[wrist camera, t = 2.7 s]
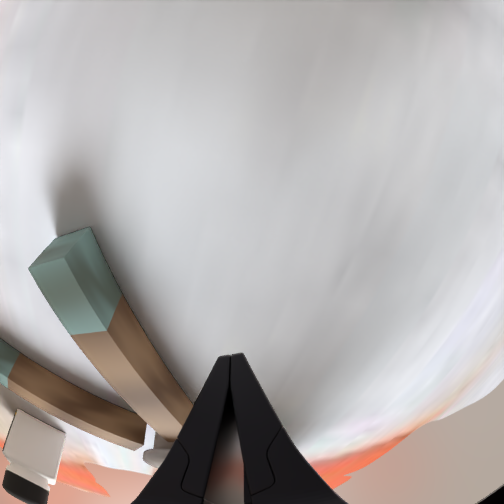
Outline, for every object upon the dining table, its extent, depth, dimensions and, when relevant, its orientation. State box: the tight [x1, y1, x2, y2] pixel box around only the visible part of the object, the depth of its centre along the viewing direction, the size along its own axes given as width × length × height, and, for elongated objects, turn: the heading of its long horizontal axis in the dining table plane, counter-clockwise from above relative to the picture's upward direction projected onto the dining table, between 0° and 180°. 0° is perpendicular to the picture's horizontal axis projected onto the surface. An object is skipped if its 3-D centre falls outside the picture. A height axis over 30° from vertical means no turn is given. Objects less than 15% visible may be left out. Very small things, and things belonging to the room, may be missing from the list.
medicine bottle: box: [2, 409, 66, 504], centre depth 19 cm, size 7×7×12 cm
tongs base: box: [0, 339, 174, 468], centre depth 17 cm, size 22×6×4 cm, turn 52°
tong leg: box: [28, 227, 193, 442], centre depth 15 cm, size 16×2×3 cm, turn 12°
